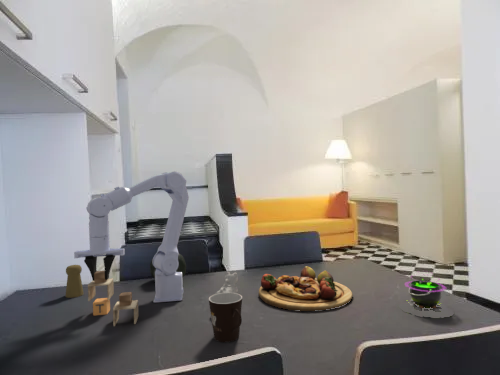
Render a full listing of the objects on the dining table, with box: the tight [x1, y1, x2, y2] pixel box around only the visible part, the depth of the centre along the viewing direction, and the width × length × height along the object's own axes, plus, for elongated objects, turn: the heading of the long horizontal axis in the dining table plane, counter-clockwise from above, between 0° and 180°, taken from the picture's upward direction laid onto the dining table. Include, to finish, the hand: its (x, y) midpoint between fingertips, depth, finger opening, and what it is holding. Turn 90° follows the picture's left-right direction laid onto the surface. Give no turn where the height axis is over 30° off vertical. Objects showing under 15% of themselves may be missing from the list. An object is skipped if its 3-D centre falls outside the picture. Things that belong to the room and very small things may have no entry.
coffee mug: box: [208, 293, 243, 343], centre depth 87 cm, size 12×9×10 cm
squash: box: [149, 252, 187, 280], centre depth 143 cm, size 14×15×15 cm
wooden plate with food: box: [258, 265, 354, 312], centre depth 120 cm, size 32×32×8 cm
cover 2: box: [112, 291, 139, 327], centre depth 101 cm, size 6×6×8 cm
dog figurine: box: [215, 271, 239, 294], centre depth 110 cm, size 5×13×11 cm, turn 162°
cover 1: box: [87, 270, 115, 302], centre depth 108 cm, size 6×6×8 cm
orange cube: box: [92, 297, 111, 317], centre depth 108 cm, size 4×4×4 cm
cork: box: [65, 264, 84, 299], centre depth 127 cm, size 6×6×11 cm
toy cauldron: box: [404, 270, 448, 312], centre depth 104 cm, size 15×15×11 cm
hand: (100, 279), depth 108 cm, fingers closed on cover 1, 3 cm apart
